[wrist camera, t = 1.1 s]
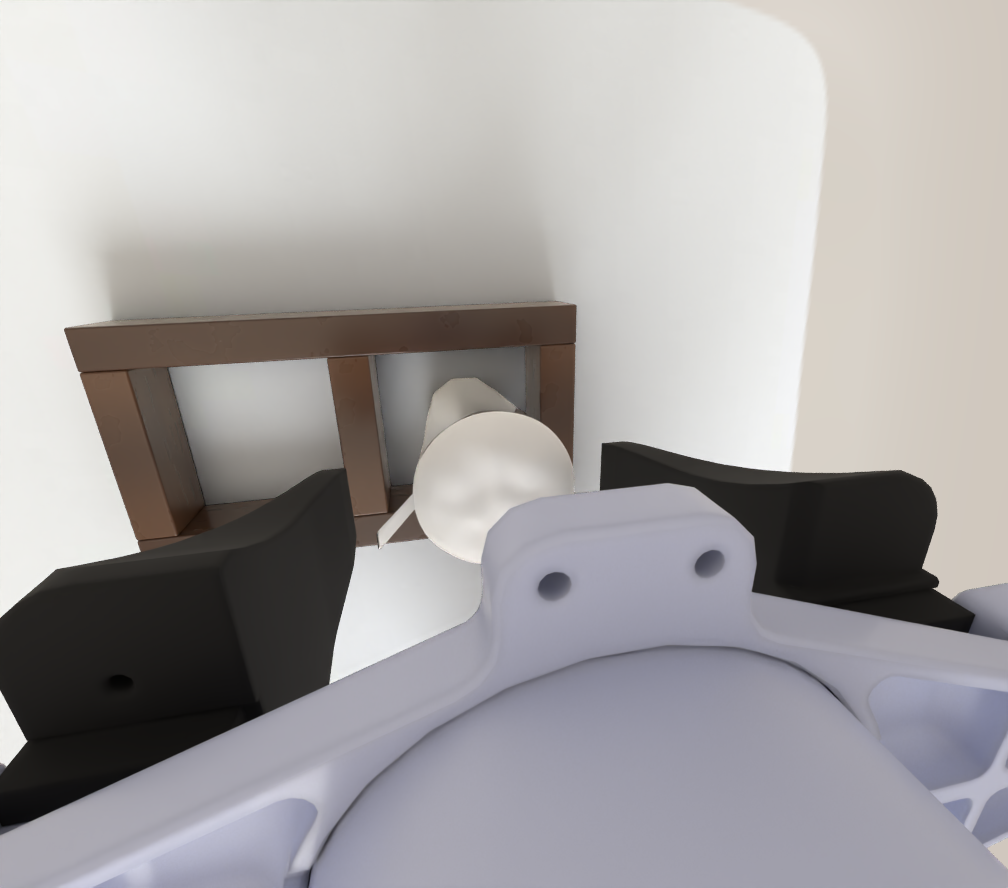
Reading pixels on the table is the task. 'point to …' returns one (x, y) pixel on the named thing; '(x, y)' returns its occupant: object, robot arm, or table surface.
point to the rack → (352, 368)
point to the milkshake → (478, 467)
